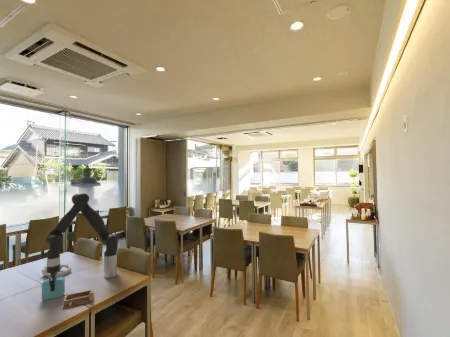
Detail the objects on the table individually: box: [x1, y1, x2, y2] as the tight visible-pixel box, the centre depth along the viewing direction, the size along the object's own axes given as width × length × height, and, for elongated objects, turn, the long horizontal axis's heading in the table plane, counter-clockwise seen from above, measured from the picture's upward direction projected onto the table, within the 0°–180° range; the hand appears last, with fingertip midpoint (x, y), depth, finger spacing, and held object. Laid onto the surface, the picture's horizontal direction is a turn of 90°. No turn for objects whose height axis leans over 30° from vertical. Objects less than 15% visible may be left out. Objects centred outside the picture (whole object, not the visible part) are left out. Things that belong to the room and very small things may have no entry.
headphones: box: [41, 263, 72, 278], centre depth 198 cm, size 18×8×20 cm
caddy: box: [62, 289, 94, 310], centre depth 156 cm, size 14×16×6 cm
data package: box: [41, 276, 66, 301], centre depth 161 cm, size 12×4×12 cm, turn 112°
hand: (53, 289), depth 161 cm, fingers closed on data package, 4 cm apart
